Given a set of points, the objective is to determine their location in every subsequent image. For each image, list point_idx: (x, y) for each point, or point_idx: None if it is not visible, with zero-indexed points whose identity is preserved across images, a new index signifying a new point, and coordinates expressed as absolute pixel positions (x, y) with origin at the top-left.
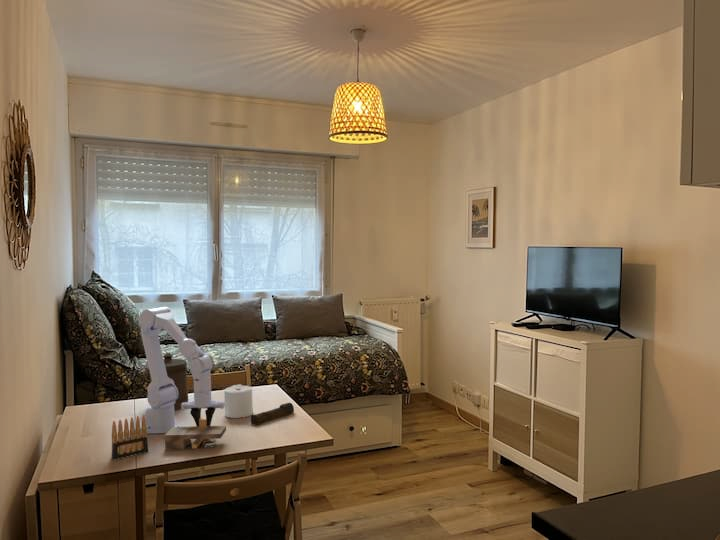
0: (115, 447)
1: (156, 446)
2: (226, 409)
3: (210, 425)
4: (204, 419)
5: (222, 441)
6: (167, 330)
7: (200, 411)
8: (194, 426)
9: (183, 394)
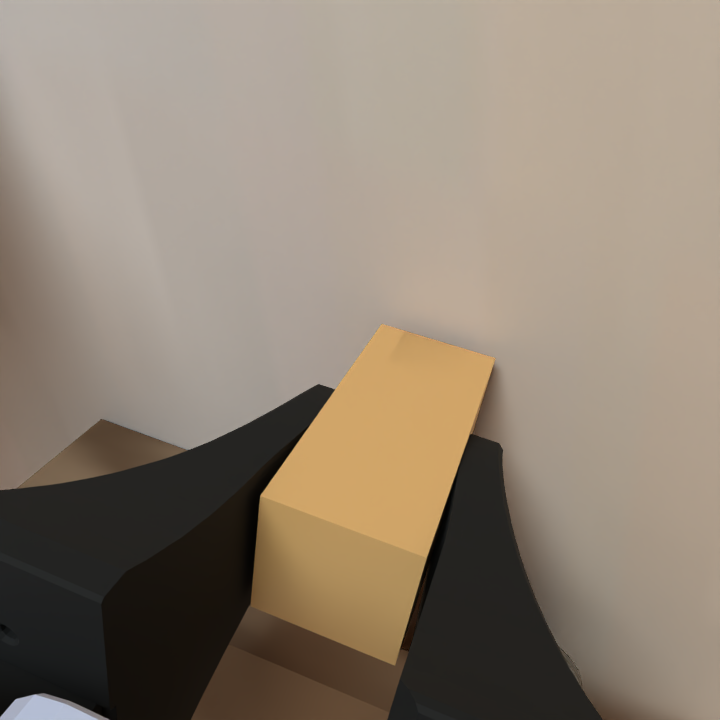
0: None
1: (5, 474)
2: None
3: (502, 469)
4: (358, 648)
5: (669, 653)
6: None
7: (182, 566)
8: (244, 651)
9: None
